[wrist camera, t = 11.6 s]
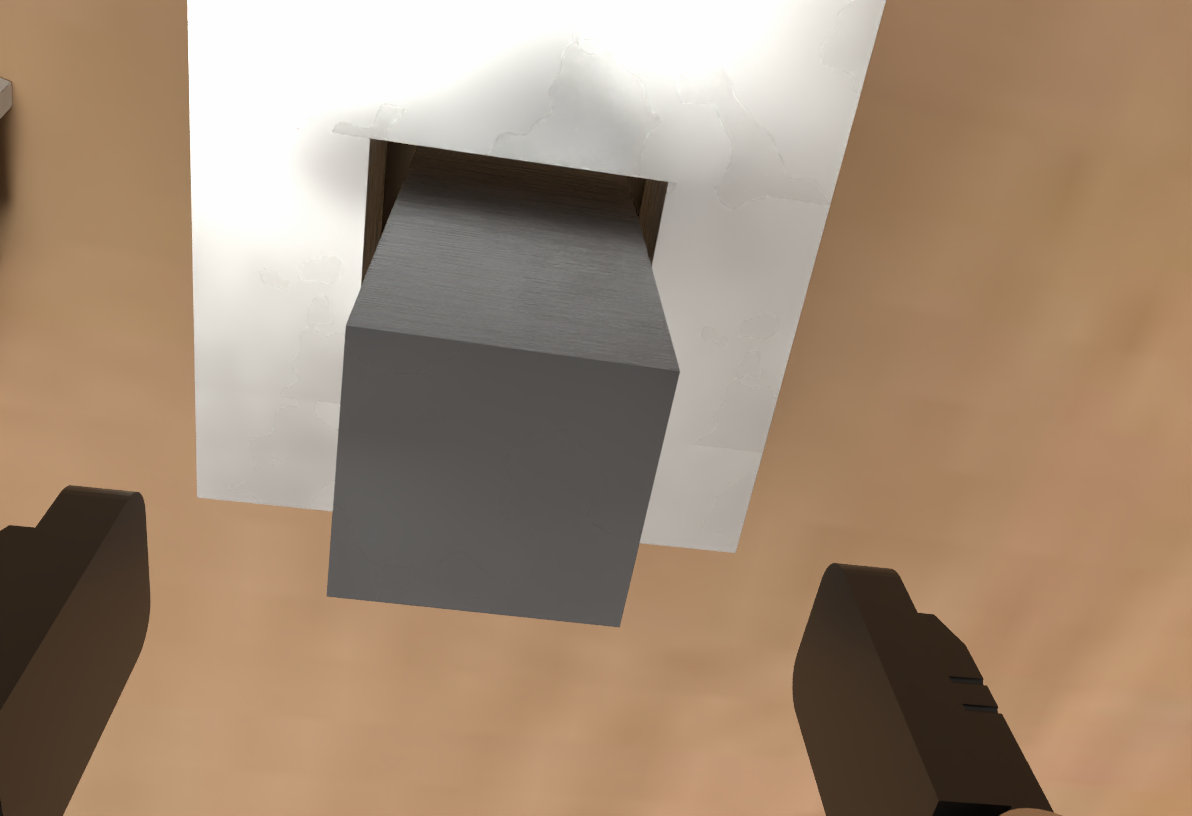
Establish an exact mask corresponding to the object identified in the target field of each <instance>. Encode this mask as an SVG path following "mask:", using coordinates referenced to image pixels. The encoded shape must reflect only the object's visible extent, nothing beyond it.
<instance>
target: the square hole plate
mask: <svg viewBox="0 0 1192 816" xmlns="http://www.w3.org/2000/svg"><path fill="white" fill-rule="evenodd" d="M885 2H886V0H188V46H189V98H190V149H191V200H192V252H193V303H194V355H195V406H196V457H197V497H198V498H208V499H218V500H227V501H237V502H247V503H256V504H266V505H276V506H285V507H295V508H305V509H314V510H324V511H333V501H334V486H335V472H336V458H337V444H338V429H339V415H340V401H341V387H342V372H343V358H344V344H345V329H346V323H347V321H348V318H349V316H350V313H351V311H352V308H353V306H354V304H355V301H356V299H357V296H358V294H359V291H360V289H361V286H362V284H363V281H364V279H365V276H366V274H367V271H368V269H369V266H370V264H371V261H372V259H373V256H374V254H375V251H376V249H377V246H378V244H379V241H380V239H381V228H382V214H383V199H384V184H385V169H386V155H387V141H392V142H399V143H405V144H412V145H419V146H426V147H433V148H440V149H447V150H453V151H460V152H467V153H474V154H481V155H488V156H495V157H501V158H508V159H515V160H522V161H529V162H536V163H542V164H549V165H556V166H563V167H570V168H577V169H584V170H590V171H597V172H604V173H611V174H618V175H625V176H632V177H638V178H645V179H646V182H645V187H644V193H643V198H642V203H641V209H640V214H639V223H640V227H641V230H642V234H643V238H644V241H645V245H646V249H647V252H648V256H649V260H650V263H651V267H652V271H653V274H654V278H655V282H656V285H657V289H658V292H659V296H660V300H661V303H662V307H663V311H664V314H665V318H666V322H667V325H668V329H669V333H670V336H671V340H672V344H673V347H674V351H675V354H676V358H677V362H678V365H679V369H680V374H679V378H678V382H677V387H676V391H675V395H674V399H673V404H672V408H671V412H670V416H669V420H668V425H667V429H666V433H665V437H664V442H663V446H662V450H661V454H660V458H659V463H658V467H657V471H656V475H655V480H654V484H653V488H652V492H651V496H650V501H649V505H648V509H647V513H646V518H645V522H644V526H643V530H642V534H641V539H640V543H644V544H653V545H663V546H673V547H682V548H692V549H702V550H712V551H721V552H731V553H736V549H737V546H738V542H739V538H740V535H741V531H742V527H743V524H744V520H745V516H746V512H747V509H748V505H749V501H750V498H751V494H752V490H753V487H754V483H755V479H756V476H757V472H758V468H759V465H760V461H761V457H762V454H763V450H764V446H765V443H766V439H767V435H768V432H769V428H770V424H771V421H772V417H773V413H774V410H775V406H776V402H777V399H778V395H779V391H780V388H781V384H782V380H783V377H784V373H785V369H786V366H787V362H788V358H789V355H790V351H791V347H792V344H793V340H794V336H795V333H796V329H797V325H798V321H799V318H800V314H801V310H802V307H803V303H804V299H805V296H806V292H807V288H808V285H809V281H810V277H811V274H812V270H813V266H814V263H815V259H816V255H817V252H818V248H819V244H820V241H821V237H822V233H823V230H824V226H825V222H826V219H827V215H828V211H829V208H830V204H831V200H832V197H833V193H834V189H835V186H836V182H837V178H838V175H839V171H840V167H841V164H842V160H843V156H844V153H845V149H846V145H847V142H848V138H849V134H850V130H851V127H852V123H853V119H854V116H855V112H856V108H857V105H858V101H859V97H860V94H861V90H862V86H863V83H864V79H865V75H866V72H867V68H868V64H869V61H870V57H871V53H872V50H873V46H874V42H875V39H876V35H877V31H878V28H879V24H880V20H881V17H882V13H883V9H884V6H885Z"/></svg>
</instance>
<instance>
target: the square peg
mask: <svg viewBox="0 0 1192 816" xmlns="http://www.w3.org/2000/svg"><path fill="white" fill-rule="evenodd" d="M679 374H680V369H679V365H678V362H677V358H676V354H675V351H674V347H673V344H672V340H671V336H670V333H669V329H668V325H667V322H666V318H665V314H664V311H663V307H662V303H661V300H660V296H659V292H658V289H657V285H656V282H655V278H654V274H653V271H652V267H651V263H650V260H649V256H648V252H647V249H646V245H645V241H644V238H643V234H642V230H641V227H640V223H639V220H638V216H637V212H636V209H635V205H634V201H633V198H632V194H631V190H630V187H629V183H628V179H627V176H625V175H618V174H611V173H604V172H597V171H590V170H584V169H577V168H570V167H563V166H556V165H549V164H542V163H536V162H529V161H522V160H515V159H508V158H501V157H495V156H488V155H481V154H474V153H467V152H460V151H453V150H447V149H440V148H433V147H426V146H419V145H418V146H417V149H416V151H415V154H414V156H413V159H412V161H411V164H410V166H409V169H408V171H407V174H406V176H405V179H404V181H403V184H402V186H401V189H400V191H399V194H398V196H397V199H396V201H395V204H394V206H393V209H392V211H391V214H390V216H389V219H388V221H387V224H386V226H385V229H384V231H383V234H382V236H381V239H380V241H379V244H378V246H377V249H376V251H375V254H374V256H373V259H372V261H371V264H370V266H369V269H368V271H367V274H366V276H365V279H364V281H363V284H362V286H361V289H360V291H359V294H358V296H357V299H356V301H355V304H354V306H353V308H352V311H351V313H350V316H349V318H348V321H347V323H346V329H345V344H344V358H343V372H342V387H341V401H340V415H339V429H338V444H337V458H336V472H335V486H334V501H333V515H332V529H331V543H330V558H329V572H328V586H327V596H328V597H338V598H347V599H357V600H366V601H376V602H385V603H395V604H404V605H414V606H423V607H433V608H442V609H452V610H461V611H470V612H480V613H489V614H499V615H508V616H518V617H527V618H537V619H546V620H556V621H565V622H575V623H584V624H594V625H603V626H613V627H620V623H621V619H622V615H623V610H624V606H625V602H626V598H627V594H628V589H629V585H630V581H631V577H632V572H633V568H634V564H635V560H636V556H637V551H638V547H639V543H640V539H641V534H642V530H643V526H644V522H645V518H646V513H647V509H648V505H649V501H650V496H651V492H652V488H653V484H654V480H655V475H656V471H657V467H658V463H659V458H660V454H661V450H662V446H663V442H664V437H665V433H666V429H667V425H668V420H669V416H670V412H671V408H672V404H673V399H674V395H675V391H676V387H677V382H678V378H679Z"/></svg>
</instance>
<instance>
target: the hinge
mask: <svg viewBox="0 0 1192 816" xmlns="http://www.w3.org/2000/svg"><path fill="white" fill-rule="evenodd" d="M11 107H12V84H11V82H10V81H8V80H5V79H3V78H0V119H1V118H2V116H3V115H4V114H5V113H6V112H7V111H8V110H9V109H10V108H11Z"/></svg>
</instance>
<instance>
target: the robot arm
mask: <svg viewBox="0 0 1192 816" xmlns="http://www.w3.org/2000/svg"><path fill="white" fill-rule="evenodd" d="M149 614H150V583H149V565H148V548H147V530H146V512H145V504H144V500H143V497H142V495H141V494H140V493H139V492H132V491H122V490H112V489H102V488H92V487H81V486H71V485H70V486H67V487H66V488H64V489H63V490H62V491H61V493H60V494H59V495H58V497H57V498H56V500H55V501H54V502H53V504H52V505H51V507H50V508H49V509H48V511H47V512H46V514H45V515H44V516H43V518H42V519H41V521H40V522H39V523H38V525H37V526H36V528H33V527H22V526H12V525H9V526H7V527H6V528H4V529H3V530H1V531H0V816H63V814H64V812H65V810H66V808H67V806H68V804H69V802H70V800H71V797H72V795H73V793H74V791H75V789H76V787H77V785H78V783H79V781H80V779H81V777H82V774H83V772H84V770H85V768H86V766H87V764H88V762H89V760H90V758H91V756H92V754H93V751H94V749H95V747H96V745H97V743H98V741H99V739H100V737H101V735H102V733H103V730H104V728H105V726H106V724H107V722H108V720H109V718H110V716H111V714H112V712H113V710H114V707H115V705H116V703H117V701H118V699H119V697H120V695H121V693H122V691H123V689H124V686H125V684H126V682H127V680H128V678H129V676H130V674H131V672H132V670H133V668H134V666H135V663H136V661H137V659H138V657H139V655H140V652H141V650H142V647H143V644H144V640H145V636H146V632H147V627H148V622H149ZM793 702H794V708H795V712H796V715H797V719H798V722H799V726H800V729H801V732H802V736H803V739H804V742H805V746H806V749H807V753H808V756H809V759H810V763H811V766H812V769H813V773H814V776H815V780H816V783H817V786H818V790H819V793H820V796H821V800H822V803H823V807H824V810H825V813H826V816H1061V815H1059V814H1056V813H1054V812H1053V810H1052V808H1051V806H1050V804H1049V802H1048V800H1047V798H1046V796H1045V795H1044V793H1043V791H1042V789H1041V787H1040V785H1039V783H1038V781H1037V779H1036V778H1035V776H1034V774H1033V772H1032V770H1031V768H1030V766H1029V764H1028V762H1027V761H1026V759H1025V757H1024V755H1023V753H1022V751H1021V749H1020V747H1019V745H1018V743H1017V742H1016V740H1015V738H1014V736H1013V734H1012V732H1011V730H1010V728H1009V726H1008V725H1007V723H1006V721H1005V719H1004V717H1003V715H1002V714H998V711H997V709H998V706H997V704H996V702H995V700H994V698H993V696H992V694H991V692H990V691H989V689H988V687H987V686H985V685H983V677H982V675H981V674H980V672H979V670H978V668H977V666H976V664H975V662H974V660H973V658H972V656H971V655H970V653H969V651H968V649H967V647H966V645H965V644H964V643H963V642H962V641H961V640H960V639H959V638H958V637H957V636H955V635H954V634H953V633H952V632H951V631H950V630H949V629H948V628H947V627H946V626H945V625H944V624H943V623H942V622H941V621H940V620H939V619H938V618H937V617H936V616H935V615H934V614H924V613H917V611H916V609H915V607H914V604H913V602H912V600H911V598H910V596H909V594H908V592H907V590H906V588H905V586H904V584H903V582H902V580H901V578H900V576H899V575H898V573H897V572H896V571H895V570H893V569H888V568H878V567H868V566H858V565H848V564H838V563H833V564H831V565H830V566H828V568H827V569H826V571H825V573H824V575H823V577H822V580H821V583H820V586H819V589H818V592H817V595H816V598H815V601H814V605H813V608H812V611H811V614H810V617H809V620H808V623H807V626H806V629H805V632H804V635H803V638H802V641H801V644H800V647H799V650H798V653H797V656H796V660H795V665H794V671H793Z"/></svg>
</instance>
